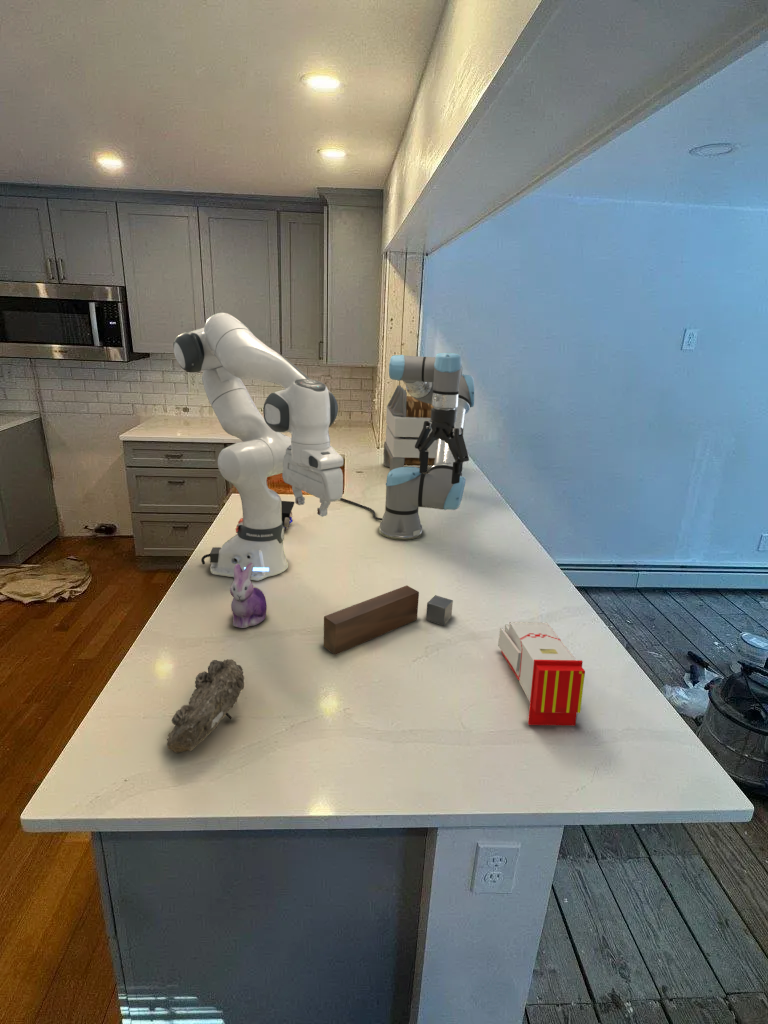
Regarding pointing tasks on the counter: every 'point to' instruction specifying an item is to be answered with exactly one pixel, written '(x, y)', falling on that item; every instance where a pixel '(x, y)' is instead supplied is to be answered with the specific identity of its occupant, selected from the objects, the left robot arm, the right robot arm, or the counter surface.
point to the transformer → (406, 430)
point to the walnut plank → (370, 619)
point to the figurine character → (287, 513)
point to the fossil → (206, 705)
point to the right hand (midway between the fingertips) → (438, 477)
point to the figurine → (246, 599)
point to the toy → (544, 672)
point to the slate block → (439, 610)
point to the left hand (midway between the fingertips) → (310, 509)
